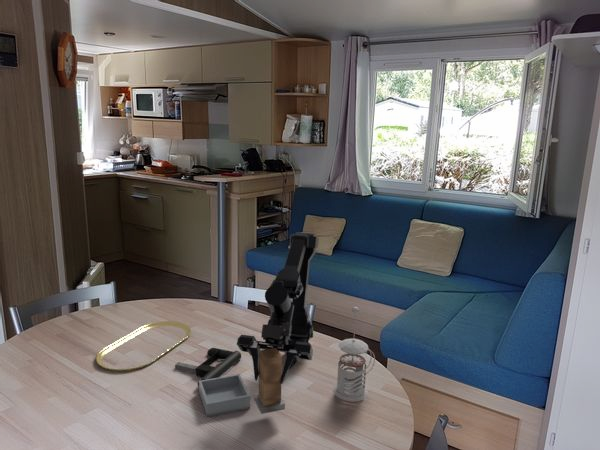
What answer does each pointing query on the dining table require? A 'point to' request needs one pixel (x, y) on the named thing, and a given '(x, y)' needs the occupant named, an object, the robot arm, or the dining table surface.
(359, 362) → the french press
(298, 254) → the robot arm
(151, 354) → the dining table surface
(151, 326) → the gold oval ring
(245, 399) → the tray
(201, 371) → the door handle
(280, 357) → the wooden post on base
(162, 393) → the dining table surface
